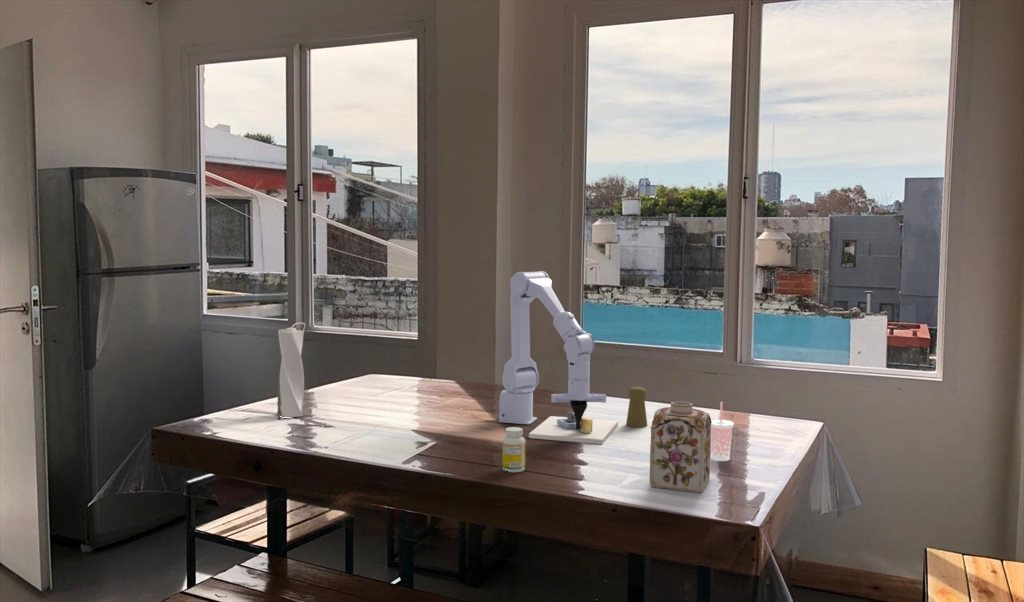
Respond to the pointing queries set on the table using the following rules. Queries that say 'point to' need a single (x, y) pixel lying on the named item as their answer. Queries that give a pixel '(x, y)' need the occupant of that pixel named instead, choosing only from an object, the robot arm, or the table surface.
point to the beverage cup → (721, 438)
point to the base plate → (574, 431)
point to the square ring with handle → (584, 424)
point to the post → (571, 417)
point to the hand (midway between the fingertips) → (578, 428)
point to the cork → (637, 408)
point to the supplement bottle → (513, 450)
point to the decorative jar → (680, 448)
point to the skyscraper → (291, 373)
